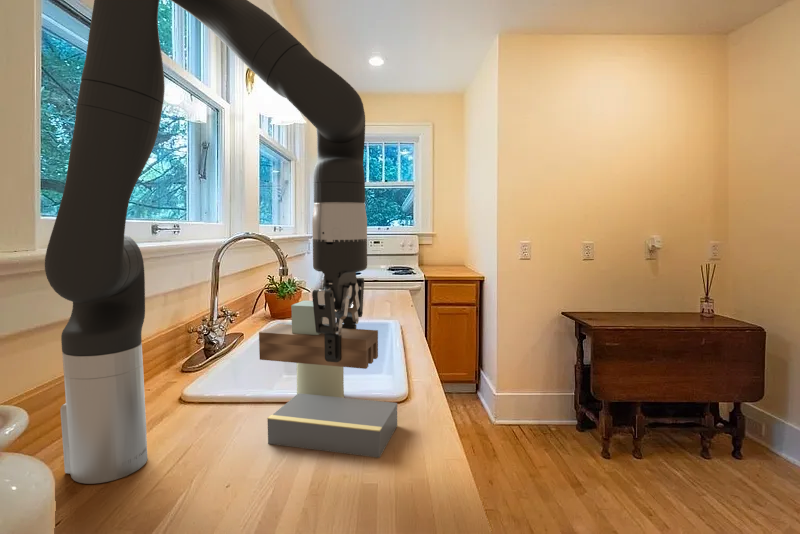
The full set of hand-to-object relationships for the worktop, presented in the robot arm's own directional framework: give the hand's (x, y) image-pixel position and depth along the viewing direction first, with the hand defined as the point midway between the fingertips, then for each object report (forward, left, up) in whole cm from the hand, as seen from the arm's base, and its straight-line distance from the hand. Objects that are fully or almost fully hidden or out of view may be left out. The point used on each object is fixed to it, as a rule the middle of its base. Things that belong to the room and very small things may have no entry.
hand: (341, 354), depth 67 cm
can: (-12, +20, -16) cm, 28 cm away
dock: (-4, +7, -16) cm, 18 cm away
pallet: (-3, 0, -1) cm, 4 cm away
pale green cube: (-5, 0, +3) cm, 6 cm away
